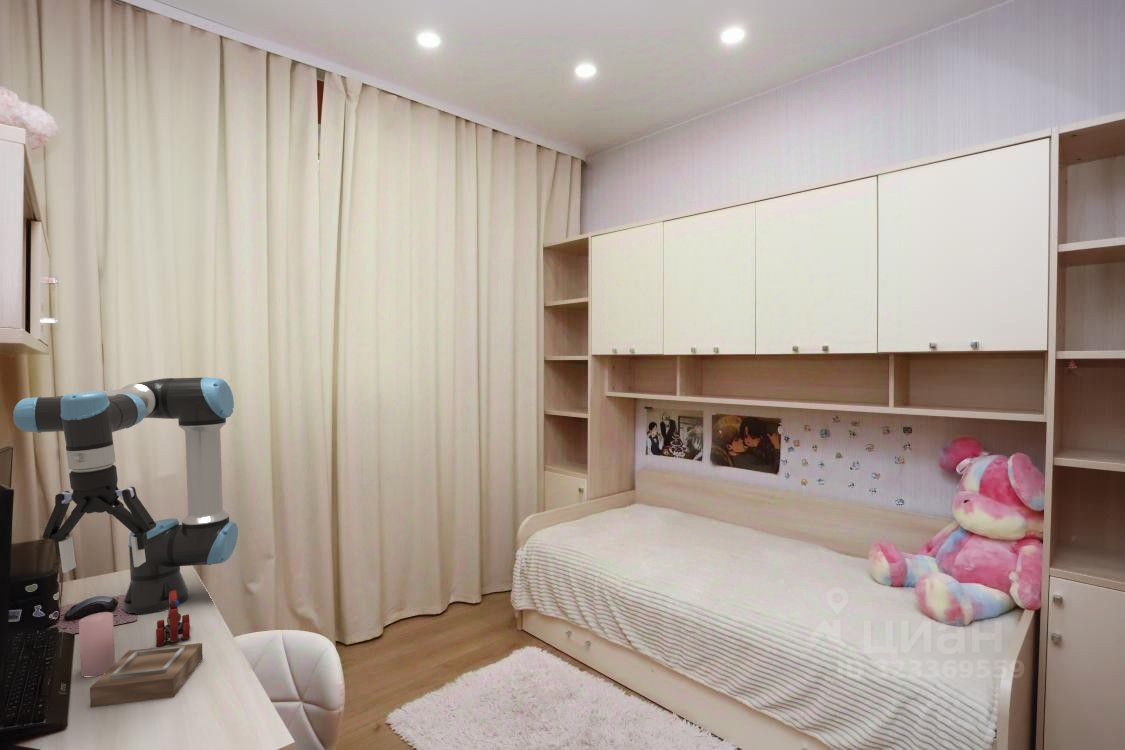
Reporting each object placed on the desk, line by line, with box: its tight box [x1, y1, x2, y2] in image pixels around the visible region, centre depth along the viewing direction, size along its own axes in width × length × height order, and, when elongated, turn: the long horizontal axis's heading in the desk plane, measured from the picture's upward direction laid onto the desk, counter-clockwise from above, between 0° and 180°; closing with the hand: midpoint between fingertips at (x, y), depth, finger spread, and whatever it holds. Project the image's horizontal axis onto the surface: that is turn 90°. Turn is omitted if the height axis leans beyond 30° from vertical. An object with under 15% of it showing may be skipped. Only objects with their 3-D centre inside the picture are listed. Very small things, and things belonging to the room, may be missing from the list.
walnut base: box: [89, 642, 204, 708], centre depth 125 cm, size 15×15×5 cm
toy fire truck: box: [155, 590, 191, 647], centre depth 144 cm, size 7×12×10 cm, turn 34°
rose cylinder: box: [78, 611, 116, 677], centre depth 130 cm, size 6×6×12 cm
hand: (105, 567), depth 120 cm, fingers open, 13 cm apart
